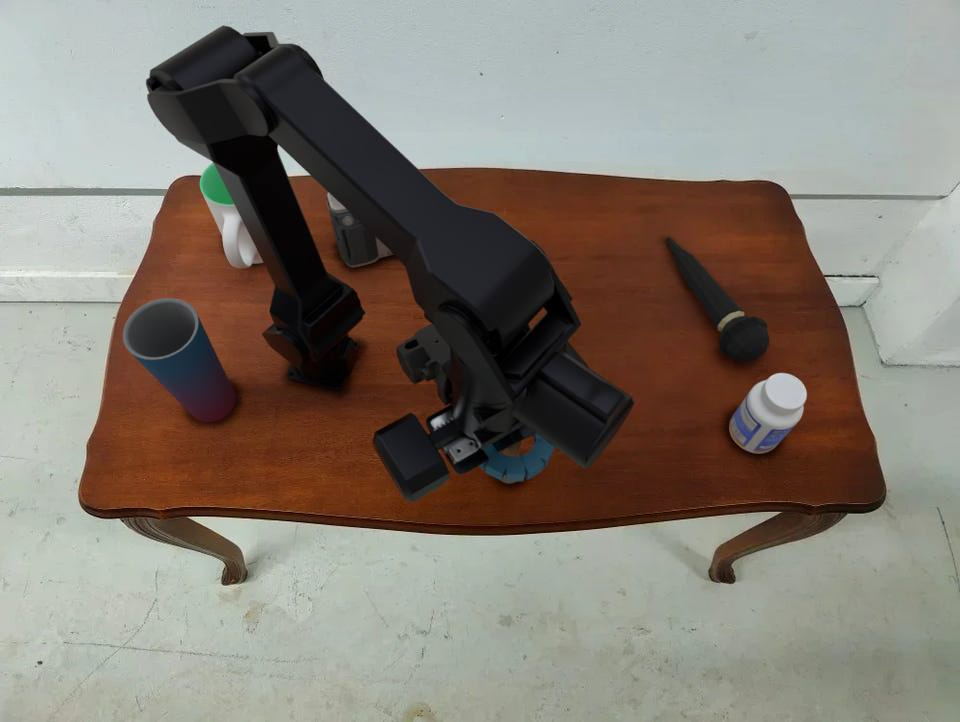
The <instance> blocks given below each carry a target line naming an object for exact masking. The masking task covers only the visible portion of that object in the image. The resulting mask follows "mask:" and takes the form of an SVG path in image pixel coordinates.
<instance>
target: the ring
mask: <svg viewBox="0 0 960 722" xmlns="http://www.w3.org/2000/svg"><path fill="white" fill-rule="evenodd" d="M531 436H532V437H533V445H532V447H531V449H530V450H529V451H527V452H525V453H524V454H522V455H519V456H512V457H508V456H506V455H504V454H503V452H501V451H500V452H498V451H497V450H496V448H495V447H494V445H493V444H490V445H489V446H487V447H485V448H483V450H484V452H485V453H486V455H487V456H488V458H489V460H488V461H486V462H485V463H483V464H481V465H479V466H478V467H479V469H481V470H482V471H484V470H485V474H487V475H489V476H491V477H492V478H495V479H497V480H498V481H501V482H502V479H503V477H504V475H505V481H506V482H514V483H516V482H524V480H525V479H526V480H530V479H532V478H533V477H535V476H537V475H538V474H540V473H542V472H543V470H544V469H546V468H547V465H548V464H549V462H550V461H551V458H552V457H553V454H554V449H555V447H554V446H553V445H552V444H550V443H549V442H547V441H546V440H545V439H543V438H542V437H540V436H539V435H538V434H536V433H534V434H533V435H531Z"/></svg>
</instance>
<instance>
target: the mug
mask: <svg viewBox="0 0 960 722" xmlns="http://www.w3.org/2000/svg"><path fill="white" fill-rule="evenodd" d="M199 188H200V192H201V193H202V196H203V198H204V200H205V202H206V204H207V206H208V208H209V210H210V213H211V215H212V217H213V220H214V221H215V224H216V226H217V228H218V230H219V233H220V234H221V237H222V246H223V251H224V254H225V257H226V259H227V261H228V263H229V264H230V265H231V267H233V268H236V269H248V268H250V267H251V266H252V264H253V265H254V264H256V265H257V264H264V262H263V260H262V258H261V257H260V255H259V253H258V251H257V249H256V247H255V245H254V243H253V241H252V239H251V237H250V235H249V233H248V231H247V229H246V227H245V225H244V223H243V221H242V219H241V217H240V215H239V213H238V211H237V209H236V207H235V205H234V203H233V201H232V199H231V197H230V195H229V193H228V191H227V189H226V187H225V185H224V183H223V181H222V179H221V177H220V175H219V173H218V171H217V169H216V167H215V165H214V163H213V162H212V163H210V164H209V165H208V166H207V167H206V168H205V169H204V170H203V172H202V174H201V176H200V179H199Z"/></svg>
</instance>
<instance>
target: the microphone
mask: <svg viewBox="0 0 960 722" xmlns="http://www.w3.org/2000/svg"><path fill="white" fill-rule="evenodd" d="M665 241H666V243H667V245H668V247H669V250H670V251H671V253H672V254H673V256H674V257H673V261H674V262H675V265H676V266H675V267H676V268H677V269H678V271H679V272H680V274H681V275H682V277H683V279H684V280H685V281H686V284H687V285H688V286H689V288H690V289H691V291H692V293H693V294H694V296H695V297H696V299H697V300H698V302H699V304H700V305H701V306H702V308H703V310H704V311H705V313H706V315H707V316H708V318H709V319H710V320H711V322H712V324H713V325H714V326H715V328H716V330H717V331H718V332H720V334H719V337H720V339H719V340H718V347H719V348H718V349H719V351H720V353H721V354H722V355H723V356H727V357H729V358H730V359H732V360H734V361H735V362H738V363H752V362H755V361H757V360H759V359H760V358H762V357H763V356H764V354H765V353H766V352H767V350H768V349H769V346H770V336H769V332H768V323H767V322H766V321H765V320H764V319H763V318H760V317H757V316H749V315H745V311H743V309H742V308H741V307H740V306H739V305H738V304H737V302H736V301H735V300H734V299H733V298H732V297H731V296H730V294H728V292H726V290H725V289H724V288H723V287H722V286H721V285H720V283H718V281H717V280H716V279H715V278H714V277H713V275H711V274H710V273H709V271H708V270H707V269H706V268H705V267H704V266H703V265H702V263H700V261H699V260H698V259H697V257H695V256H694V255H693V254H692V253H691V252H689V251H687V250H686V249H684V248H682V247H681V246H680V245H679V244H678V243H677V241H675V240H674V239H672V237H667V238H666V240H665Z"/></svg>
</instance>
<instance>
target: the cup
mask: <svg viewBox="0 0 960 722" xmlns="http://www.w3.org/2000/svg"><path fill="white" fill-rule="evenodd" d="M122 342H123V344H124V346H125V349H126V350H127V351H128V352H129V353H130V354H131V355H132V356H133V357H134V358H135V359H136V360H137V361H138V362H139V363H140V365H142V366H143V368H144V369H146V370H147V371H148V372H149V373H150V374H151V375H152V376H153V377H154V378H155V380H157V382H159V384H161V385H162V386H163V388H164V389H165V390H167V391H168V393H170V395H171V396H172V397H174V399H175V400H177V402H179V404H180V405H181V406H182V407H183V408H184V409H185V410H186V411H187V412H188V413H189V414H190V415H191V416H192V417H193V418H195V420H197V421H199V422H202V423H216V422H219V421H220V420H222V419H224V418H226V417H227V416H228V415H229V414H230V413H231V412H232V411H233V409H234V407H235V405H236V400H237V399H236V398H237V396H236V393H235V390H234V388H233V386H232V384H231V382H230V380H229V377H228V375H227V374H226V371H225V369H224V367H223V366H222V363H221V361H220V358H219V357H218V354H217V352H216V350H215V349H214V346H213V343H212V342H211V340H210V337H209V336H208V334H207V332H206V328H205V327H204V325H203V323H202V321H201V319H200V316H199V315H198V312H197V310H196V309H195V307H193V306H192V304H190V303H189V302H187V301H185V300H183V299H179V298H176V297H175V298H173V297H163V298H157V299H154V300H151V301H149V302H146V303H145V304H143V305H141V306H139V307H138V308H137V309H135V311H134V312H133V313H132V314H130V316H129V317H128V319H127V320H126V322H125V324H124V327H123V330H122Z"/></svg>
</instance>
